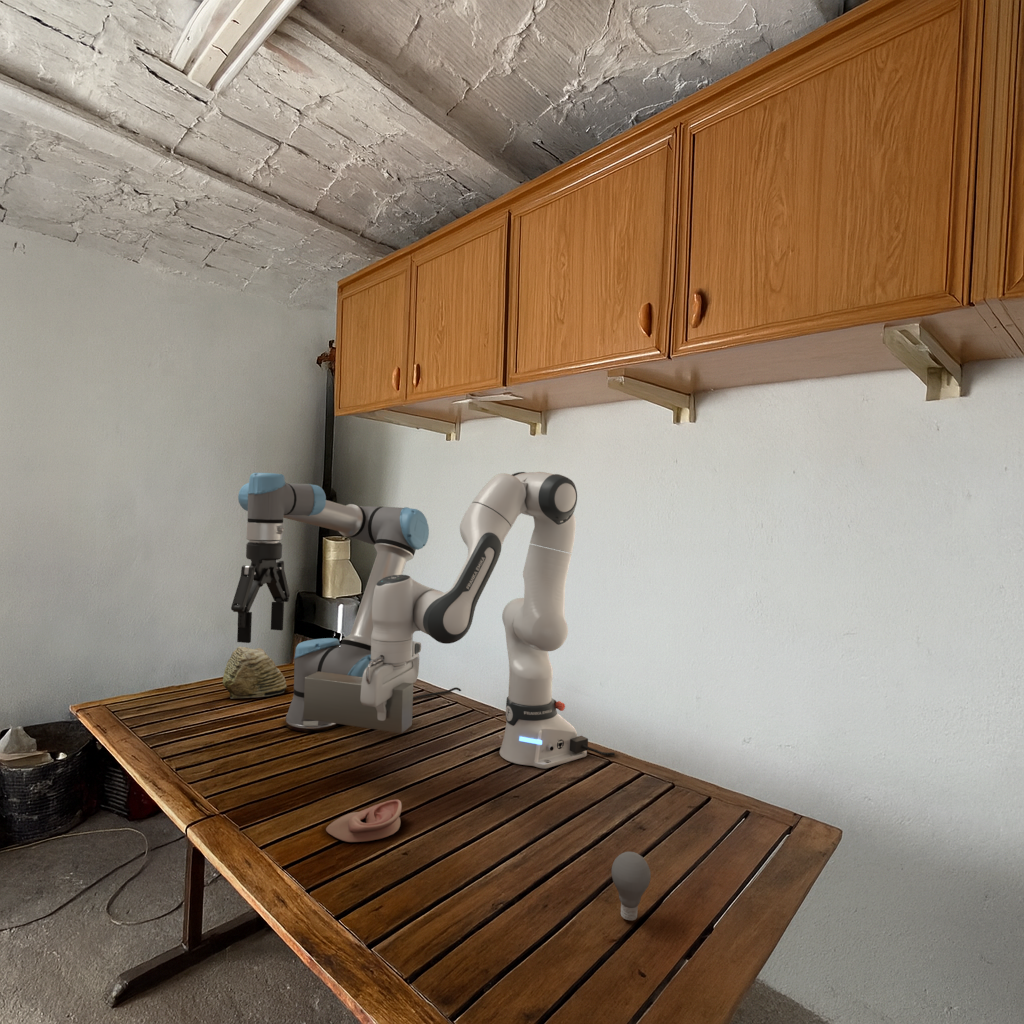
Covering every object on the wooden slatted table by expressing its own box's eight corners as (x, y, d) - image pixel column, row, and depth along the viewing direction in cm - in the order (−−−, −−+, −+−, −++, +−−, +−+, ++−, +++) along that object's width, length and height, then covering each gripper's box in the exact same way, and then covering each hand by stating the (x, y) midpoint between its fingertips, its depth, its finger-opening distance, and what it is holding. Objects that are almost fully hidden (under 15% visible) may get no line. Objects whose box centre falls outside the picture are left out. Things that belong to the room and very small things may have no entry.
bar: (303, 718, 140) (304, 677, 140) (317, 711, 145) (318, 671, 145) (401, 733, 133) (402, 690, 133) (412, 725, 138) (413, 683, 138)
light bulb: (605, 905, 101) (608, 843, 101) (642, 905, 102) (645, 843, 102) (614, 931, 95) (617, 865, 95) (653, 930, 96) (656, 865, 96)
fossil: (218, 695, 195) (220, 647, 195) (278, 685, 208) (279, 640, 207) (228, 703, 189) (230, 653, 188) (289, 692, 201) (290, 645, 201)
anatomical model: (318, 816, 117) (346, 789, 129) (317, 837, 118) (346, 808, 129) (385, 827, 115) (408, 798, 126) (384, 848, 115) (407, 818, 126)
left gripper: (248, 546, 129) (245, 649, 130) (306, 539, 154) (303, 626, 154) (215, 544, 130) (211, 646, 131) (277, 537, 155) (274, 624, 155)
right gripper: (381, 664, 126) (379, 733, 126) (424, 642, 145) (423, 702, 146) (353, 660, 127) (351, 728, 128) (399, 639, 147) (398, 698, 147)
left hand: (261, 635), depth 143 cm, fingers open, 13 cm apart
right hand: (390, 714), depth 137 cm, fingers closed on bar, 5 cm apart
